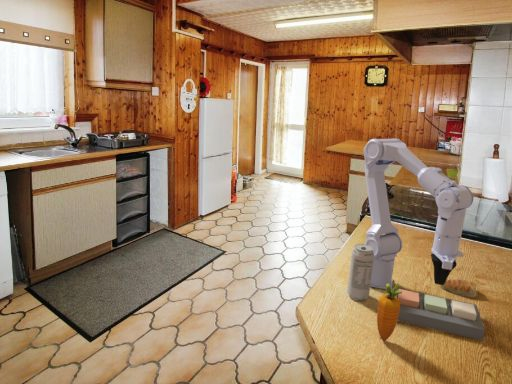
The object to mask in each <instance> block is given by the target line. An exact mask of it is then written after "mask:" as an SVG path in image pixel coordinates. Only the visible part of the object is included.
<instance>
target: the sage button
mask: <svg viewBox="0 0 512 384" xmlns="http://www.w3.org/2000/svg"><path fill="white" fill-rule="evenodd" d="M424 294H425V296H424V301H423V309H424V310H428V311H433V312H437V313H442V314H446V312H447V304H446V299H445V298H446V297H443V298H440V297H441V296H438V297H435V296H436V295H433V296H431V295H432V294H428V295H426V294H427V293H424Z"/></svg>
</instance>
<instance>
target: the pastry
mask: <svg viewBox="0 0 512 384" xmlns="http://www.w3.org/2000/svg"><path fill="white" fill-rule="evenodd" d="M440 287H441V288H442V289H443V290H445V291H446V292H447V291H448V292H449V293H453V295H458V296H462V297H467V298H471V299H474V298H476V296H477V283H476V282H474V281H469V280H466V279H462V278H458V279H453V278H450V279H447V280H446V282H445V284H444V285H440Z"/></svg>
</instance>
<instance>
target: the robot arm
mask: <svg viewBox="0 0 512 384" xmlns="http://www.w3.org/2000/svg"><path fill="white" fill-rule="evenodd" d="M363 157H364V176H365V183H366V190H367V197H368V198H367V199H368V205H369V212H370V219H371V226H370V227H369V228H368V230H366V232H365V236H366V237H365V238H366V239H365V242H364V244H365V245H369V246H371V247H372V248H373V253H374V261H373V269H372V276H371V284H370V287H372V288H377V289H381V290H386V284H389V285H390V287H391V291H392V289H393V284H394V283H393V281H394V280H393V279H394V278H393V272H394V267H395V266H394V265H395V259H396V257H397V256H398V255H397V254H398V253H400V252H401V251H402V249H403V240H402V238H401V237H400V234H399V230H398V228H397V227H396V226H395V225H393V224H392V220H391V214H390V212H391V211H390V204H389V199H388V197H389V196H388V191H387V190H388V189H387V184H386V178H385V177H386V176H385V172H386V171H387V169H388V168H389V166H390V165H392V164H393V163H395V162H397V163H399V164H400V165H401V166H403V167H404V168H405V169H407V170H408V171H409V172H410V173H412V174H414V175H415V176H416V177H417V183H418V185H419V186H420V187H422V188H423V189H424V190H425V191H426V192H427V193H429V194H430V195H431V196H432V197H434V199H435V203H436V206H437V214H438V215H437V220H436V227H435V232H434V238H433V244H432V247H431V252H432V253H431V254H430V258H431V262H432V264H433V280H434V281H433V282H434V285H439V286H441V285H444V284H445V282H446V280H448V277H449V275H450V273H452V271H453V270H454V269H455V268H456V267H457V266H458V265H457V258H458V257H459V258H463V257H464V253H463V251H460V250H459V249H460V244H461V239H462V233H463V228H464V225H465V224H464V223H465V219H466V213H467V209H468V208H470V207H471V206H472V205H473V204H474V193H473V191H472V190H471V189H470V187H468V186H467V185H463V184H461V185H458V184H457V181H456V180H454V179H453V180H452V179H451V178H450V177H448V176H447V175H446V174H444V173H443V169H442V168H441V167H435V166H429V167H428V166H427V165H426V164H425V163H424V162H423V161H422V160H421V159H419V157H417V156H416V155H415V154H414V153H413V152H412V151H411V150H410V149H409V148H408V147H407V144H406V143H405V142H403V141H402V140H401V139H400V138H371V139H369V140H368V142H367V143H366V144H365V146H364V147H363Z"/></svg>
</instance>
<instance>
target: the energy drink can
mask: <svg viewBox="0 0 512 384" xmlns="http://www.w3.org/2000/svg"><path fill="white" fill-rule="evenodd" d="M373 261H374V253H373V248H372V247H371V246H369V245H365V243H357V244H355V245H354V247H353V249H352V250H351V255H350V265H349V273H348V283H347V290H346V291H347V294H348V295H349V296H348V297H349V298H350V299H352V300H355V301H360V302H361V301H366V300H367V298H369V295H370V290H371V286H370V284H371V276H372V269H373Z"/></svg>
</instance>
